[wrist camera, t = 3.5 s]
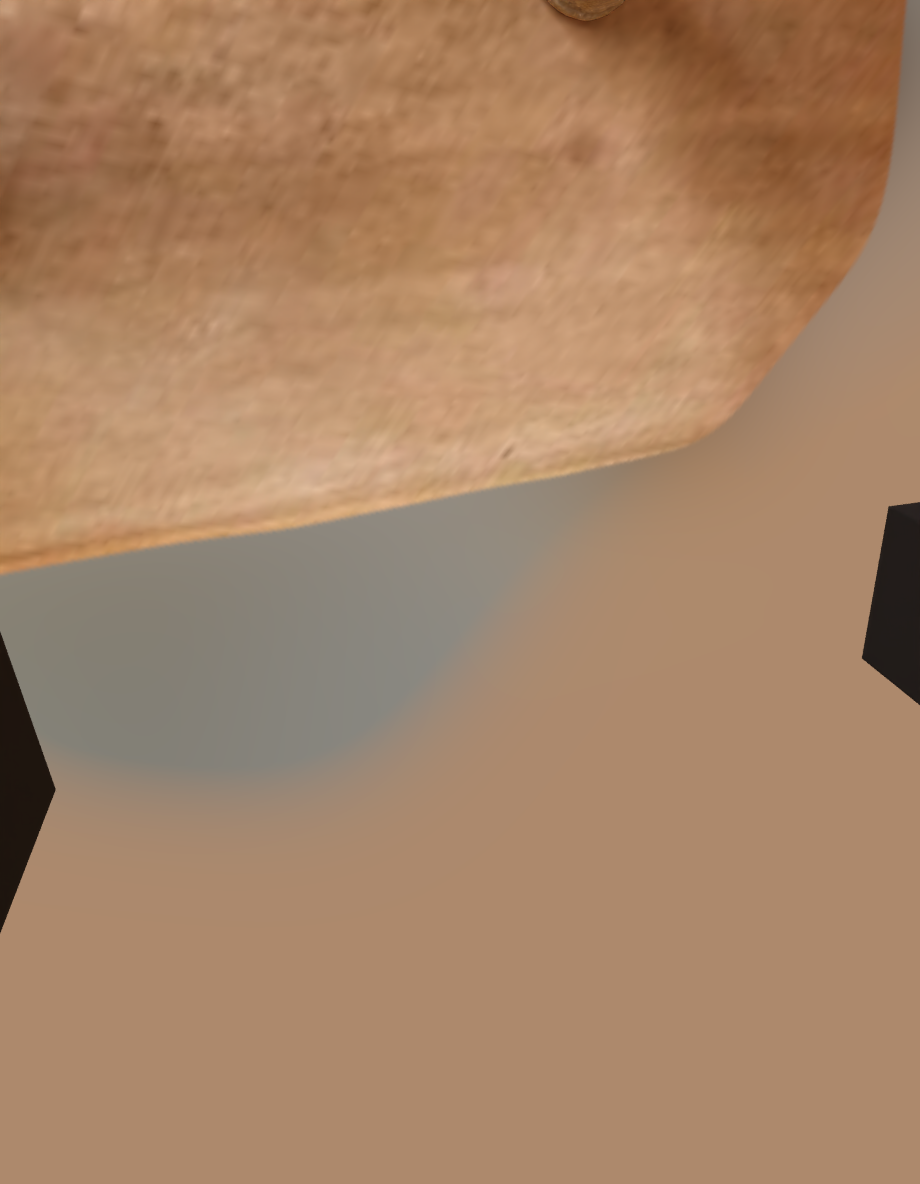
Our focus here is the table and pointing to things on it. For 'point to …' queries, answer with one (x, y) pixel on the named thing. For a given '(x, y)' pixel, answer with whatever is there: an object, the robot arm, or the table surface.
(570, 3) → the spice jar
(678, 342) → the table surface
